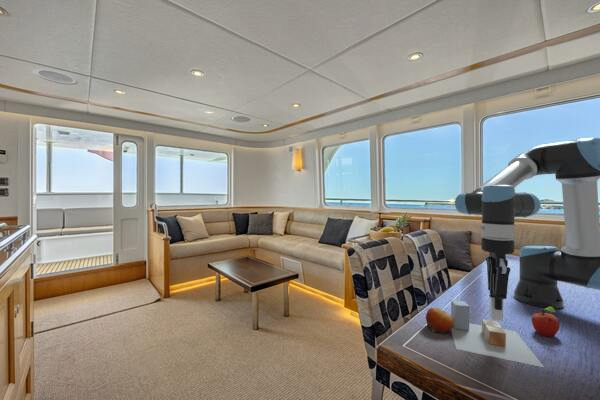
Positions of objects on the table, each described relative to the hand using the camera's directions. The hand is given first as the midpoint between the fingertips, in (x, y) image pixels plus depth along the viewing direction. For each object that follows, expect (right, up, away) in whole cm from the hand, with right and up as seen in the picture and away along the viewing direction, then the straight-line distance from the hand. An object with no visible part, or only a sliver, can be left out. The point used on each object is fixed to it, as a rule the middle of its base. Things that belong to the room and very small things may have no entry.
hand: (496, 319), depth 74 cm
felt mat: (-1, -8, +2) cm, 8 cm away
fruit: (-12, -8, +9) cm, 17 cm away
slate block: (-5, -7, +10) cm, 13 cm away
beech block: (0, -5, -1) cm, 6 cm away
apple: (+20, -8, +6) cm, 22 cm away
